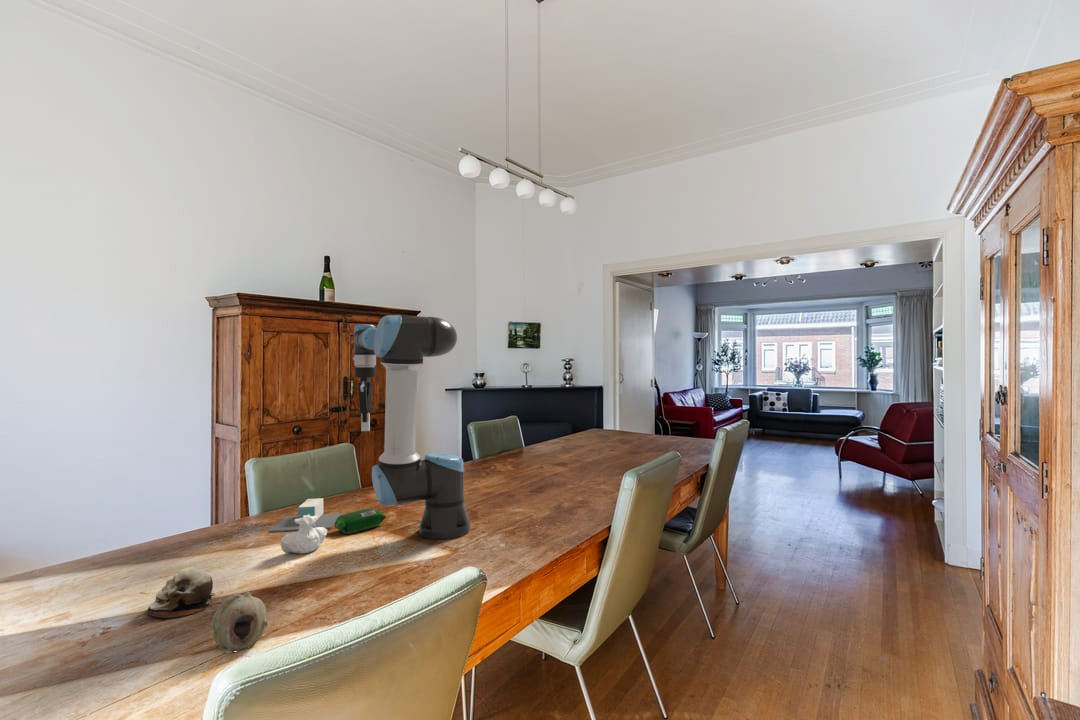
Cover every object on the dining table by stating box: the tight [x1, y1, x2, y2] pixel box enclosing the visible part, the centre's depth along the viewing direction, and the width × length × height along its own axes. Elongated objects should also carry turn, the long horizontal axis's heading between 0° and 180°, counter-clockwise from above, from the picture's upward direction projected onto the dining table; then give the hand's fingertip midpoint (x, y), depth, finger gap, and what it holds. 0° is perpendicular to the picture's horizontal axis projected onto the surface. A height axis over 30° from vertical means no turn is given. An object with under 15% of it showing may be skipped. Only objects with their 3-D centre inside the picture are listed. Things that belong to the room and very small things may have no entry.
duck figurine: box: [279, 514, 328, 555], centre depth 134 cm, size 12×8×11 cm
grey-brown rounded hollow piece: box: [211, 591, 270, 654], centre depth 90 cm, size 9×8×10 cm
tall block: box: [297, 497, 324, 521], centre depth 161 cm, size 5×5×10 cm
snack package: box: [333, 508, 387, 535], centre depth 153 cm, size 7×16×5 cm, turn 135°
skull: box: [146, 566, 217, 619], centre depth 105 cm, size 12×10×10 cm
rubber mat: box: [268, 512, 344, 533], centre depth 158 cm, size 14×18×1 cm
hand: (365, 430), depth 181 cm, fingers closed
